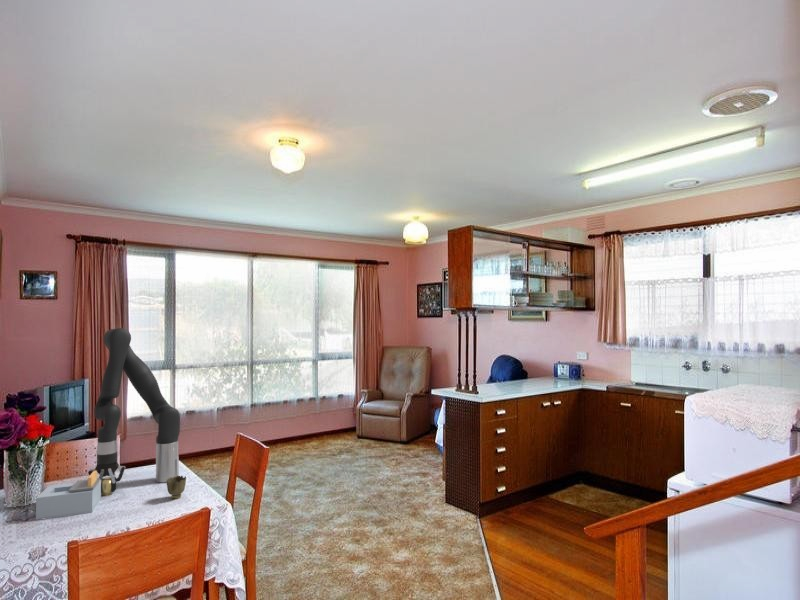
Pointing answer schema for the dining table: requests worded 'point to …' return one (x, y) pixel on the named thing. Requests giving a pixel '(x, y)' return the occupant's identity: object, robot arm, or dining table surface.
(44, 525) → the dining table surface
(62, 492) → the housing
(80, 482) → the lid
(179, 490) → the cup
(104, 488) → the brass cylinder
